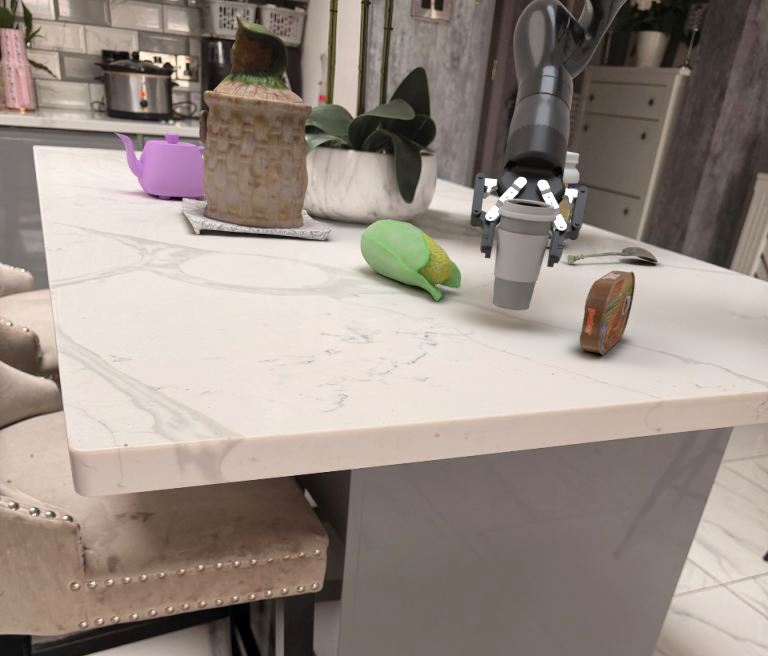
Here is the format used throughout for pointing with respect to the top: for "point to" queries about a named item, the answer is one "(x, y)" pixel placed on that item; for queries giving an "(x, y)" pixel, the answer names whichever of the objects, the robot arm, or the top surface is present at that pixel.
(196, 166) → the teapot
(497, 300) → the cup
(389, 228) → the corn
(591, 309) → the tin
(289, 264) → the top surface
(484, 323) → the top surface
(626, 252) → the soupspoon
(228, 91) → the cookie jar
